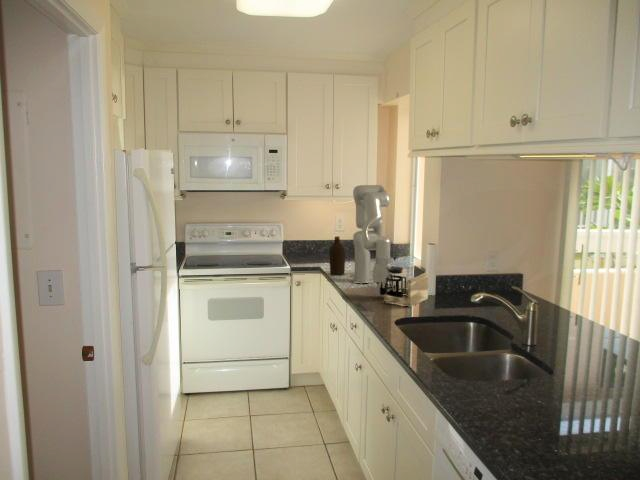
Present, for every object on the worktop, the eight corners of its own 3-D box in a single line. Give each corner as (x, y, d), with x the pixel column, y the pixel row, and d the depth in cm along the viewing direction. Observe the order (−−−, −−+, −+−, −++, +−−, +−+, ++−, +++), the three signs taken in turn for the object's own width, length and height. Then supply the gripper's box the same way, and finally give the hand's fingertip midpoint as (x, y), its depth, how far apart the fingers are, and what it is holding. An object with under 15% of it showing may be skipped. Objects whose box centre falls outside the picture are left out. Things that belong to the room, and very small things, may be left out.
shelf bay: (383, 303, 252) (384, 276, 250) (402, 294, 269) (402, 269, 267) (410, 307, 244) (410, 280, 242) (427, 298, 260) (428, 272, 258)
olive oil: (336, 276, 316) (336, 238, 312) (326, 274, 324) (325, 236, 320) (348, 274, 322) (348, 236, 319) (338, 271, 330) (337, 235, 327)
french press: (387, 302, 254) (388, 258, 251) (381, 297, 264) (381, 255, 260) (408, 300, 257) (409, 257, 254) (402, 296, 266) (402, 254, 263)
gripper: (367, 260, 263) (367, 294, 266) (392, 263, 254) (391, 298, 257) (374, 258, 269) (374, 291, 272) (398, 261, 260) (398, 295, 263)
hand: (382, 294), depth 264 cm, fingers closed
